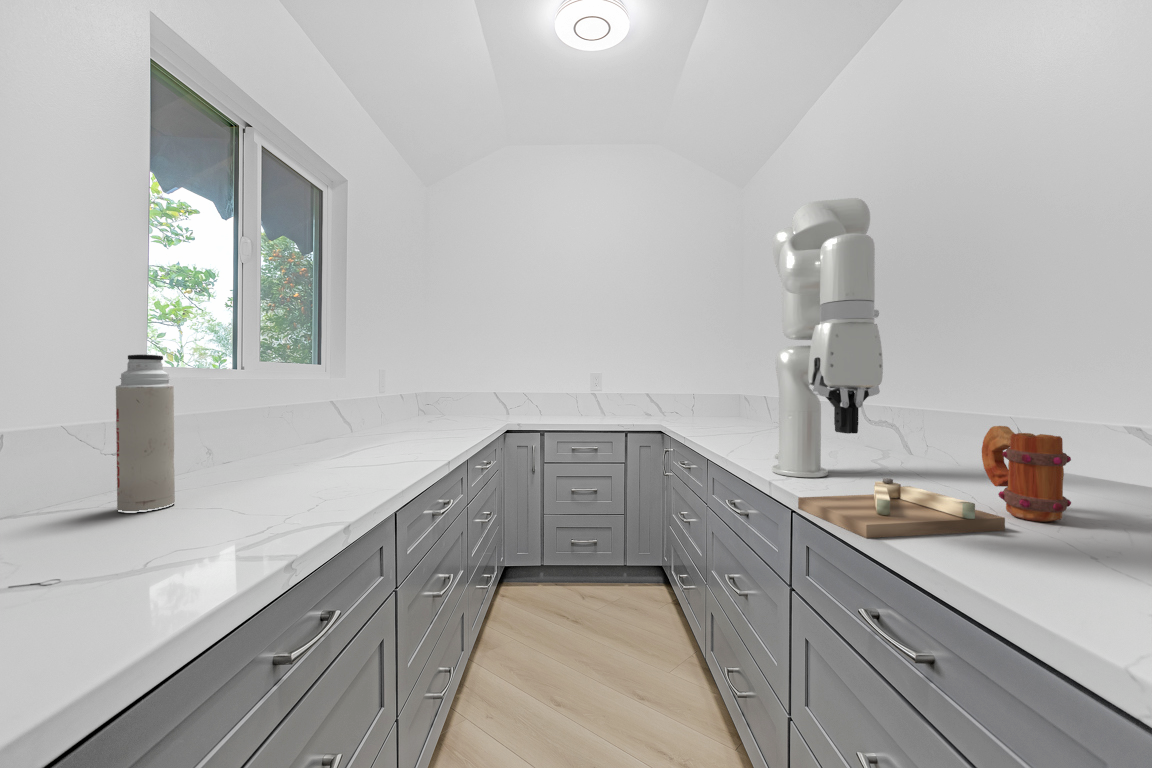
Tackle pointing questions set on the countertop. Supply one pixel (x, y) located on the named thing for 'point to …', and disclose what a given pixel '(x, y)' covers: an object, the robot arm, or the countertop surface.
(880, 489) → the tong arm
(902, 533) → the board
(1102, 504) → the countertop surface
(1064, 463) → the mug
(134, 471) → the thermos bottle
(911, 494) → the tongs fixed
